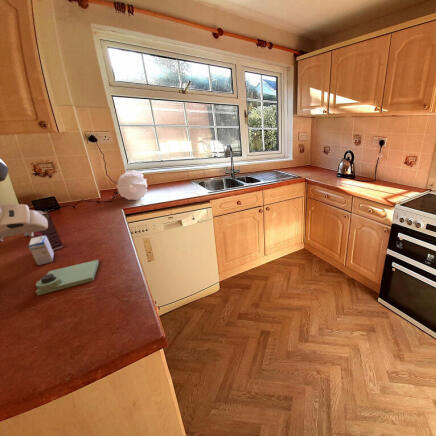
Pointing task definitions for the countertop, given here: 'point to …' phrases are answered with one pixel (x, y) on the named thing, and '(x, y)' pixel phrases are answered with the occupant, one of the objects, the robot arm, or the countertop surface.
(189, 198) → the countertop surface
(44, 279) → the tare button
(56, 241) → the supplement box
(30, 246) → the medicine box
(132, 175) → the crumpled paper ball
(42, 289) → the scale
